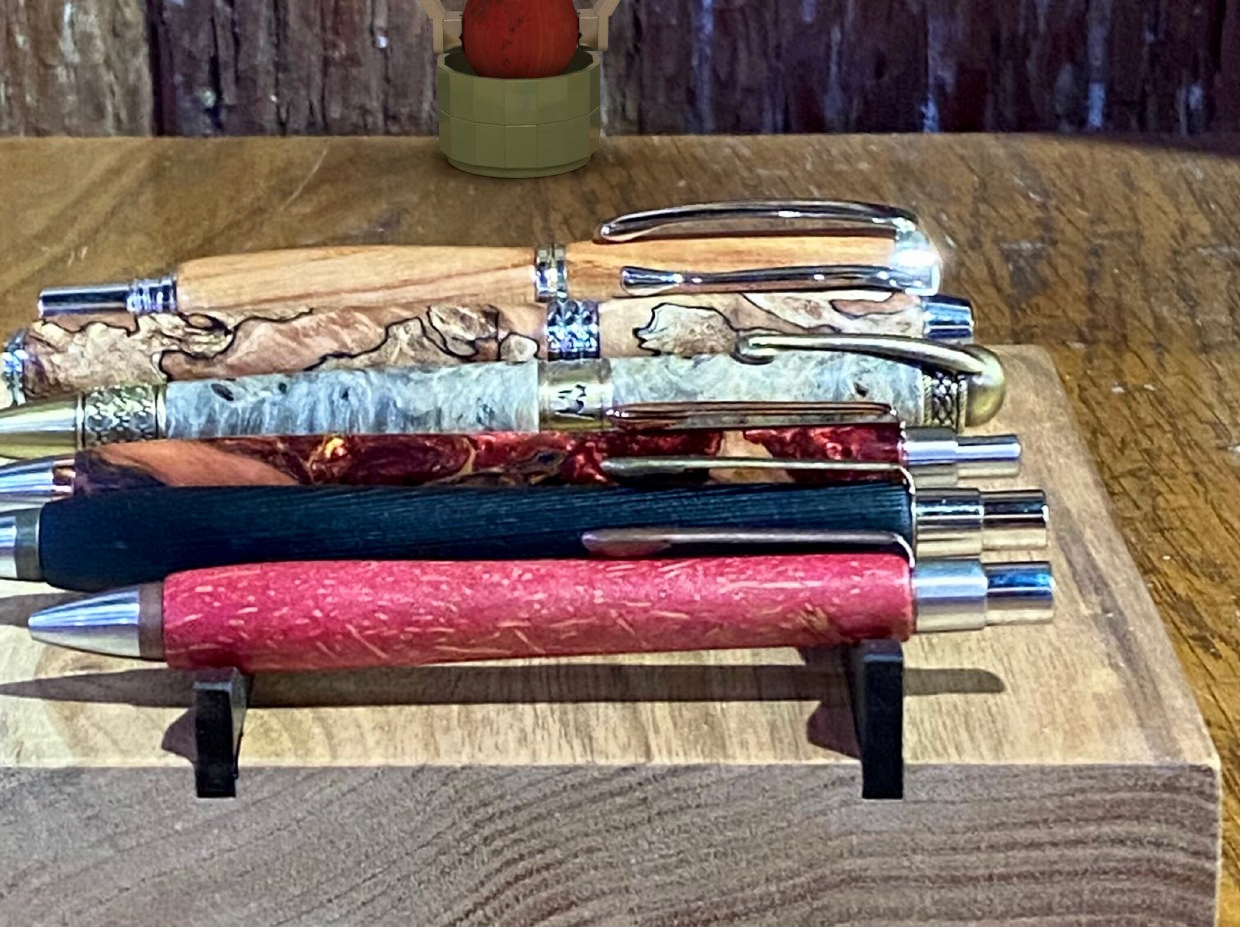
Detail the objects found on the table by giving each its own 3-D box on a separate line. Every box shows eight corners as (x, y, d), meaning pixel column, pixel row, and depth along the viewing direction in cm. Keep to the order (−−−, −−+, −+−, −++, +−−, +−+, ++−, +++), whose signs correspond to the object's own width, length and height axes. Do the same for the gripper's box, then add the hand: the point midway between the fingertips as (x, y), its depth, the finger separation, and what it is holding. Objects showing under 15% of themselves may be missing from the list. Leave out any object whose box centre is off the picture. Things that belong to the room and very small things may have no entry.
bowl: (594, 133, 119) (595, 38, 116) (603, 179, 112) (604, 79, 109) (440, 136, 119) (438, 41, 117) (439, 182, 112) (436, 82, 109)
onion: (513, 127, 110) (511, -40, 107) (439, 104, 114) (435, -57, 111) (601, 105, 113) (602, -57, 110) (526, 84, 117) (525, -74, 114)
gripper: (731, -256, 109) (721, 31, 115) (307, -248, 109) (320, 38, 115) (746, -239, 103) (735, 62, 110) (299, -230, 103) (314, 70, 110)
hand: (519, 50), depth 113 cm, fingers closed on onion, 6 cm apart
